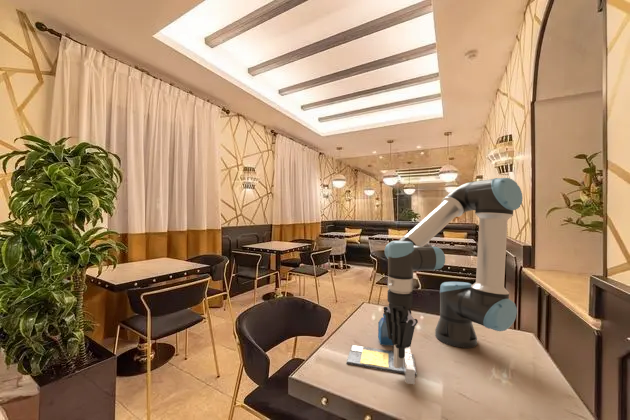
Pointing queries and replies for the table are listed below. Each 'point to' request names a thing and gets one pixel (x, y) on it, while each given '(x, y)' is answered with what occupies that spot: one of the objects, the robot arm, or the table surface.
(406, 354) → the swing arm
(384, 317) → the perfume bottle
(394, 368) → the tray
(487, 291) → the robot arm
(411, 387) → the table surface
